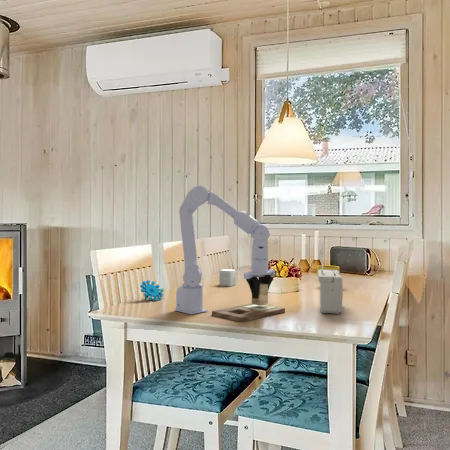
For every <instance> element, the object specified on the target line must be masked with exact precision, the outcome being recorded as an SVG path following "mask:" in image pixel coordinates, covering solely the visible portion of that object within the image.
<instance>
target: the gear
mask: <svg viewBox="0 0 450 450" xmlns="http://www.w3.org/2000/svg"><path fill="white" fill-rule="evenodd" d="M155 284H156V282H155V281H153V280H152V281H150V280H149V279H147V280H146V281H145V280H143V281H142V282H141V284H140V286H139V287H140V288H141V289H140V292H141V293H143V296H144V299H145V300H147V299H148V300H150V301H152V300H153V301H154V302H157V301H161V300H162V297H164V291H165V289H164V288H160V285H159V284H156V285H155Z"/></svg>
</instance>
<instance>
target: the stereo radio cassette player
mask: <svg viewBox="0 0 450 450" xmlns="http://www.w3.org/2000/svg"><path fill="white" fill-rule="evenodd" d="M323 253H324V252H323V251H321V254H323ZM323 256H324V255H321V265H322V270H318V273H317V276H318V282H319V281H320V282H319V306H320V313H321V314H335V315H338V314H340V313H341V312H342V311H343V300H344V299H343V295H344V294H343V293H344V292H343V291H344V290H343V288H344V287H343V278H342V276H341V273H340V271H337V270H323V265H324V258H323Z"/></svg>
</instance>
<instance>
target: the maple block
mask: <svg viewBox="0 0 450 450" xmlns="http://www.w3.org/2000/svg"><path fill="white" fill-rule="evenodd" d="M251 303H252V304H255V305H260V306H261V305H269V290H268V284H262V283H260V287H259V296H258V298H257V299H256V298H253V297H252V296H251Z"/></svg>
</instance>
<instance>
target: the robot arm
mask: <svg viewBox="0 0 450 450" xmlns="http://www.w3.org/2000/svg"><path fill="white" fill-rule="evenodd" d="M206 202H207V204H206V205H212V206H215V207H217V208H218V209H220V210H221V211H222V212H224V213H225V214H227V216H229V217H231V218H232V219H233V224H234V225H235V226H237V227H238V228H239V229H241V230H242V231H243V232H244V233H246V234H247V235H250V236H251V238H252V246H251V271H247V272H244V273H243V279H245V280H246V282H247V284H248V286H249V288H250V292H251V298H252V297H253V298H256V299H257V298H258V296H259V287H260V283H262V284H268V291H269V289H270V287H271V284H272V282H273V280H274V276H276V269H269V238H270V235H271V234H270V231H269V229H268V227H266V226H265V225H263V224H262V221H260V220H257V219H255V217H253V216H251V212H249V211H245V210H240V211H239V210H237V209H236V208H235V207H234V206H233V205H231V204H230V203H229V202H227V201H226V200H225V199H224V198H222V197H221V196H220V195H219V194H217V193H215V192H214V191H212V190H210V189H207V188H206V187H205V186H202V185H196V186H193V187H192V188H191V189H190V190H188V192H187V193H186V196H185V197H184V199H183V201H182V203H181V205H180V207H179V211H178V212H179V213H178V214H179V220H180V221H179V222H180V230H181V231H180V232H181V240H182V249H183V260H184V262H183V263H184V273H183V276H182V279H183V283H182V285H180V286H178V288H177V290H176V293H175V295H176V296H175V298H176V299H175V308H174V312H175V311H176V312H180V313H183V314H189V315H195V314H201V313H205V312H209V310H208V309H207V308H206V309H205V308H203V307H204V305H203V304H204V303H203V301H204V300H203V296H204V294H203V293H204V292H203V290H204V287H203V284H202V283H201V281H202V275H203V273H202V270H201V269H200V267H199V262H198V254H197V244H196V234H195V224H194V216H193V215H194V213H195V212H196V211H197V209H198V208H199V207H200V206H202V205H204V204H205V203H206Z"/></svg>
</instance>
